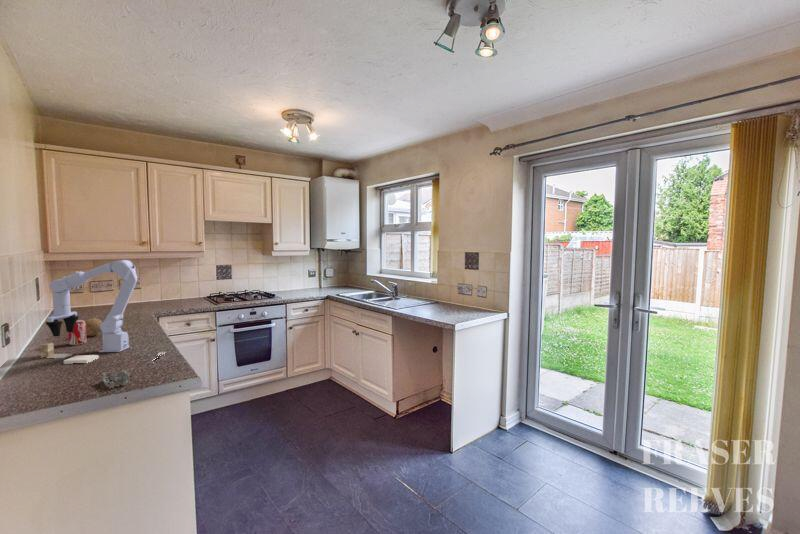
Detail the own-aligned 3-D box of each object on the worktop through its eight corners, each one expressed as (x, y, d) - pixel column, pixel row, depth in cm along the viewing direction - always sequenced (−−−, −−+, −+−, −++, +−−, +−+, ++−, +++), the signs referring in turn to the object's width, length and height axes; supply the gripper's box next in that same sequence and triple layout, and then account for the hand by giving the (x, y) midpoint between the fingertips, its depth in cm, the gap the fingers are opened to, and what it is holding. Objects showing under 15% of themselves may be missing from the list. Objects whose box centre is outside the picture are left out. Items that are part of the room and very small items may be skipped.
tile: (76, 359, 158) (98, 359, 159) (63, 364, 151) (86, 364, 152) (76, 355, 158) (98, 354, 159) (63, 360, 151) (86, 360, 152)
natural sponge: (105, 333, 202) (105, 315, 201) (103, 336, 194) (103, 318, 194) (84, 335, 197) (84, 317, 196) (82, 338, 189) (81, 320, 189)
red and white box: (75, 346, 176) (74, 322, 175) (64, 345, 177) (63, 321, 177) (90, 342, 183) (89, 319, 182) (79, 341, 184) (78, 318, 183)
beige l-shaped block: (72, 354, 163) (72, 342, 163) (63, 358, 158) (63, 345, 158) (48, 355, 162) (48, 342, 161) (38, 358, 157) (38, 345, 157)
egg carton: (102, 382, 133) (101, 371, 133) (127, 377, 138) (126, 367, 138) (104, 390, 125) (104, 379, 125) (131, 385, 131) (131, 374, 130)
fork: (137, 372, 145) (137, 367, 145) (158, 355, 165) (158, 351, 164) (146, 371, 146) (146, 367, 146) (166, 355, 165) (166, 351, 165)
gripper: (65, 302, 170) (66, 330, 170) (38, 308, 155) (40, 338, 156) (81, 302, 170) (82, 330, 171) (56, 307, 156) (57, 338, 157)
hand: (63, 334), depth 164 cm, fingers open, 7 cm apart
